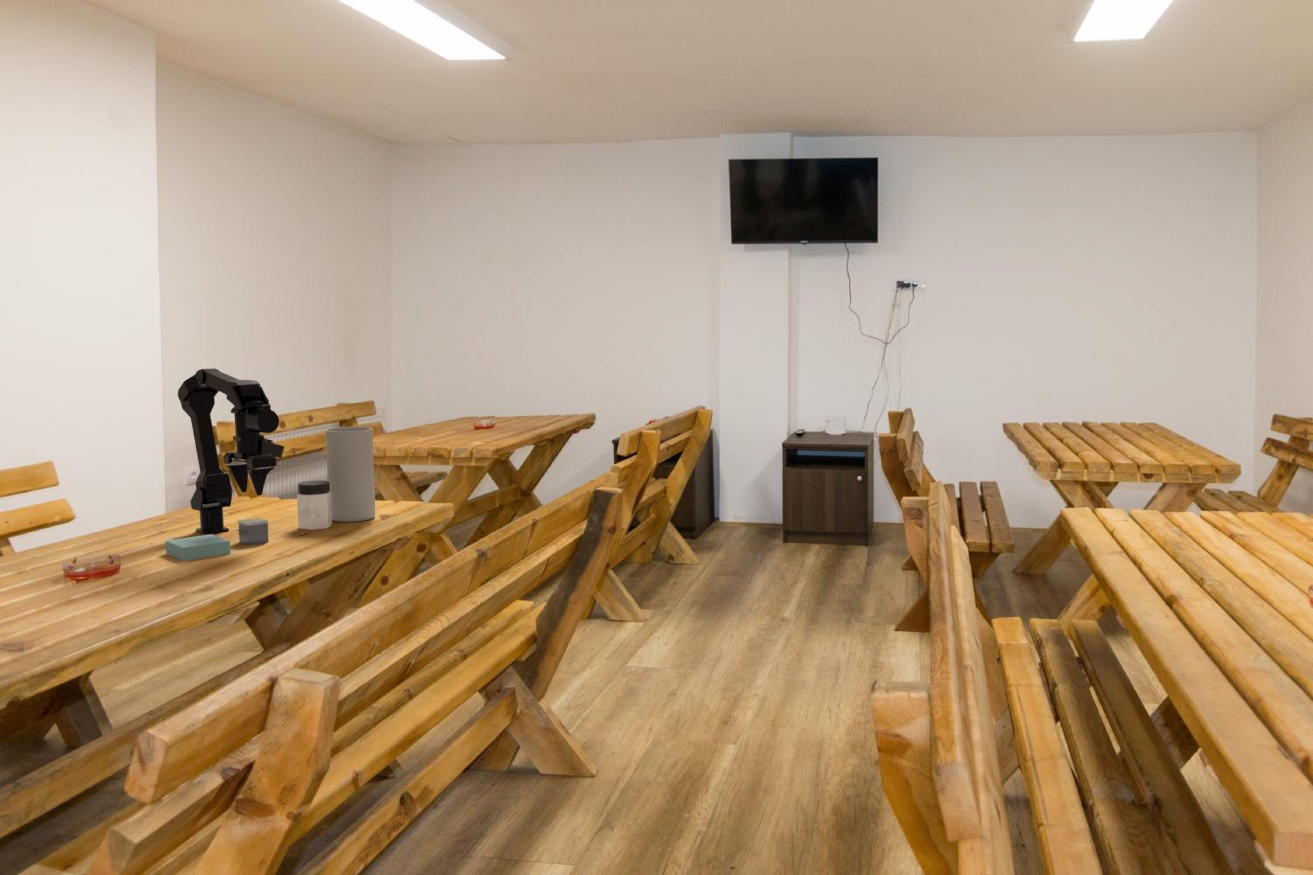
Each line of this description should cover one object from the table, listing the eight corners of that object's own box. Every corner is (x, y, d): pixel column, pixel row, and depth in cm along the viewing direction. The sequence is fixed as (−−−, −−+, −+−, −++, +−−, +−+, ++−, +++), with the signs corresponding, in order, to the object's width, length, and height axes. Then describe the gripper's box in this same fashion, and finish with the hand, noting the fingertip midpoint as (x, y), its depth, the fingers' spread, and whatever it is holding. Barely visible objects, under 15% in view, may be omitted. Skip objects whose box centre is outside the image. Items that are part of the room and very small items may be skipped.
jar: (302, 531, 287) (301, 486, 286) (294, 526, 294) (292, 482, 293) (336, 527, 292) (335, 483, 291) (327, 522, 299) (325, 479, 298)
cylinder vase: (383, 515, 310) (380, 427, 307) (361, 523, 298) (358, 432, 295) (343, 513, 313) (340, 426, 310) (320, 521, 300) (316, 431, 298)
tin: (238, 542, 275) (237, 520, 274) (259, 539, 278) (258, 517, 278) (248, 545, 271) (247, 523, 270) (269, 542, 274) (268, 520, 274)
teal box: (166, 555, 262) (165, 540, 262) (212, 548, 270) (211, 534, 269) (183, 562, 254) (183, 547, 254) (230, 555, 262) (229, 540, 262)
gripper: (295, 430, 270) (299, 493, 272) (263, 427, 284) (267, 486, 285) (251, 434, 263) (255, 498, 264) (220, 430, 276) (224, 492, 278)
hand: (251, 493), depth 273 cm, fingers open, 9 cm apart
